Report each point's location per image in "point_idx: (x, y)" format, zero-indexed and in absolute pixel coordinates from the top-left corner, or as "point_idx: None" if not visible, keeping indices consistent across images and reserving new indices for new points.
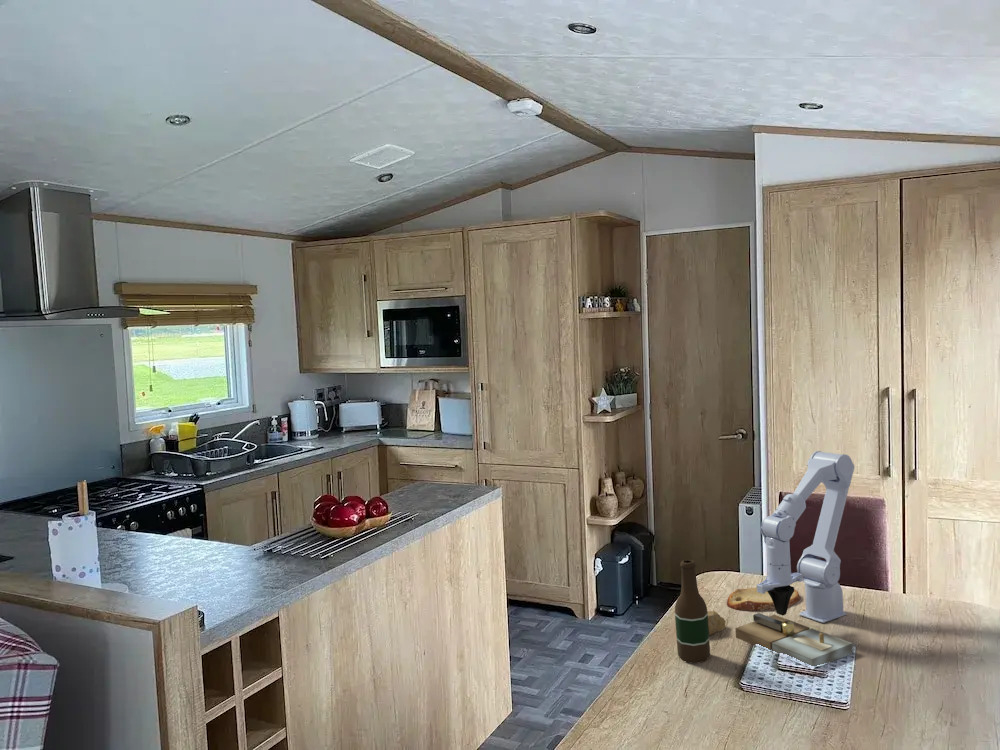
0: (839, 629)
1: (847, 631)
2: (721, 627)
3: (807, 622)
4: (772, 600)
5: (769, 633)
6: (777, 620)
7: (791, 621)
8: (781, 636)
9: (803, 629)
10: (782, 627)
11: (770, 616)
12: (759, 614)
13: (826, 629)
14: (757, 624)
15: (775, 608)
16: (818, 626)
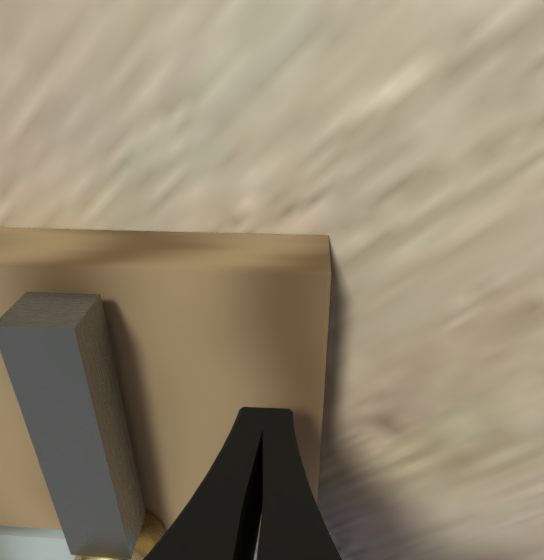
0: (536, 521)
1: (534, 551)
2: None
3: (527, 367)
4: (182, 511)
5: (26, 462)
6: (108, 508)
7: (312, 440)
8: None
9: (258, 541)
10: (74, 558)
11: (265, 283)
12: (54, 356)
13: (487, 485)
14: None
15: (225, 442)
16: (503, 440)
